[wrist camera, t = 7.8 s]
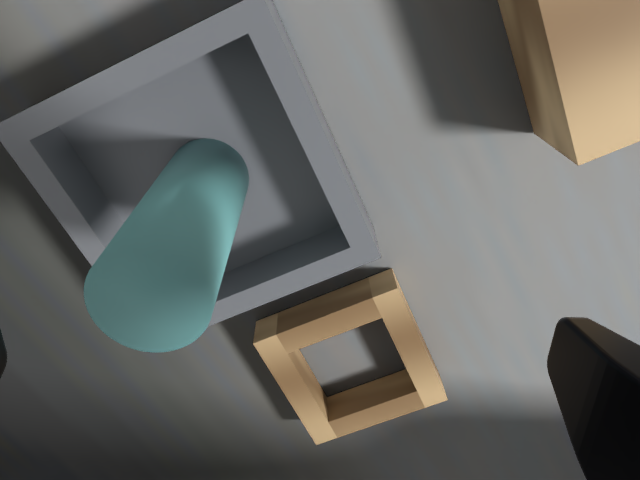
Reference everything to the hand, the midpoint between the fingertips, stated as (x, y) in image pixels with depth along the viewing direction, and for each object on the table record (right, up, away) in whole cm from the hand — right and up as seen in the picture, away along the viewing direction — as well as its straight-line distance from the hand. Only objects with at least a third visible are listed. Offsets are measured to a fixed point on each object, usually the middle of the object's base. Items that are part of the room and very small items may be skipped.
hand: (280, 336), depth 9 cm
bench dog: (+8, +9, +9) cm, 15 cm away
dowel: (-3, +4, +10) cm, 12 cm away
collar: (+2, -3, +15) cm, 15 cm away
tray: (-3, +4, +11) cm, 12 cm away
